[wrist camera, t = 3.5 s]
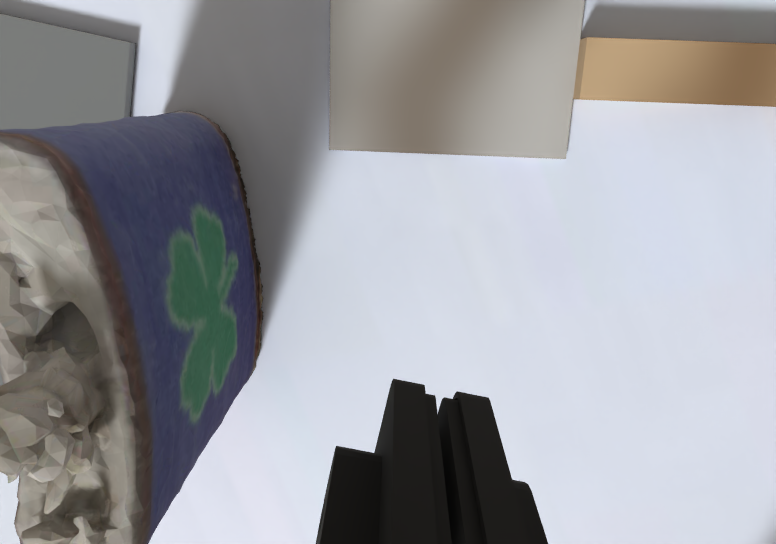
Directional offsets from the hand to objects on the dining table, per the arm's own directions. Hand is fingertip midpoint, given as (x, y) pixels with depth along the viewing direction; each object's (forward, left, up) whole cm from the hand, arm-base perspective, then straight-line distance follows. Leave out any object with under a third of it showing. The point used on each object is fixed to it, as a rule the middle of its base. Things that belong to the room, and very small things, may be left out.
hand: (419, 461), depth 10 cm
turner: (-3, -8, -9) cm, 13 cm away
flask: (+7, 0, -10) cm, 11 cm away
